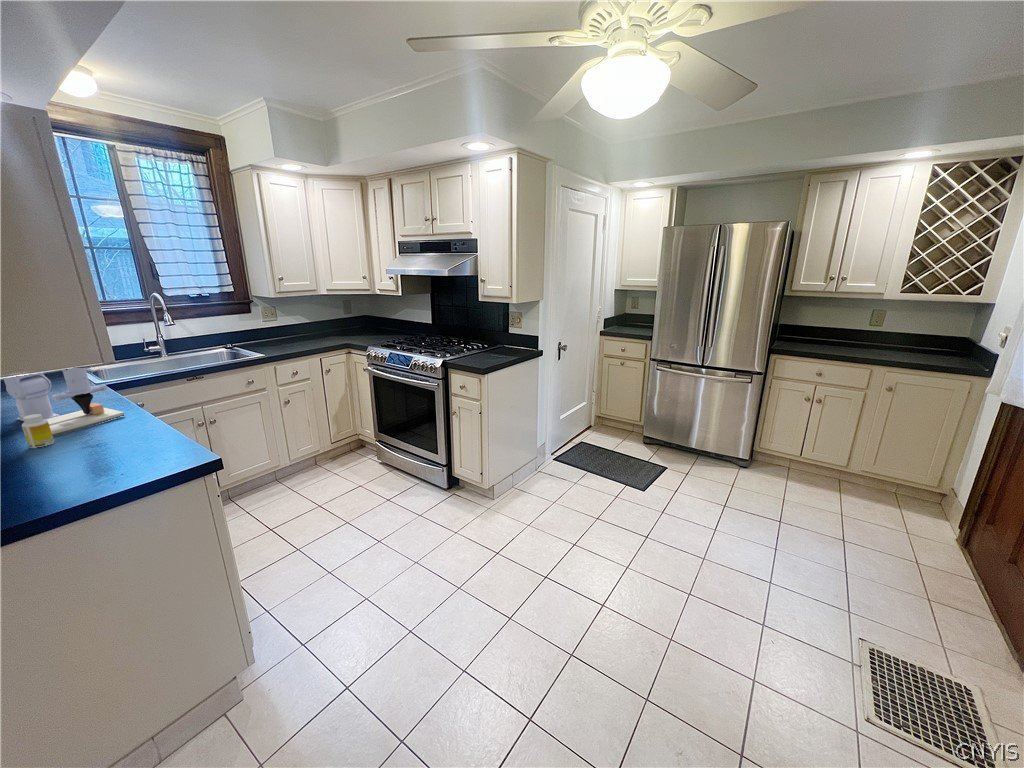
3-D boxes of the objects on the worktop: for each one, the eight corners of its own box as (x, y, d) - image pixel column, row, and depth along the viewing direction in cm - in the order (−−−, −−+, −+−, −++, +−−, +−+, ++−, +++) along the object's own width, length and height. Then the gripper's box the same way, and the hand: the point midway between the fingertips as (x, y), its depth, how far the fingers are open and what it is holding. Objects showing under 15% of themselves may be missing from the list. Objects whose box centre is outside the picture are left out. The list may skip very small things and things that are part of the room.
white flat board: (28, 429, 143) (26, 423, 142) (99, 410, 161) (98, 405, 160) (54, 436, 138) (52, 431, 137) (125, 416, 156) (123, 411, 155)
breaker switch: (87, 415, 153) (84, 405, 152) (97, 412, 156) (94, 402, 155) (95, 417, 151) (92, 407, 150) (105, 414, 154) (102, 404, 153)
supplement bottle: (60, 441, 134) (50, 412, 131) (43, 449, 129) (33, 419, 126) (41, 441, 134) (31, 413, 131) (23, 449, 129) (13, 419, 126)
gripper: (55, 385, 139) (67, 421, 143) (108, 375, 152) (117, 408, 156) (44, 382, 141) (55, 418, 145) (96, 372, 155) (106, 406, 158)
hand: (87, 413), depth 151 cm, fingers closed
